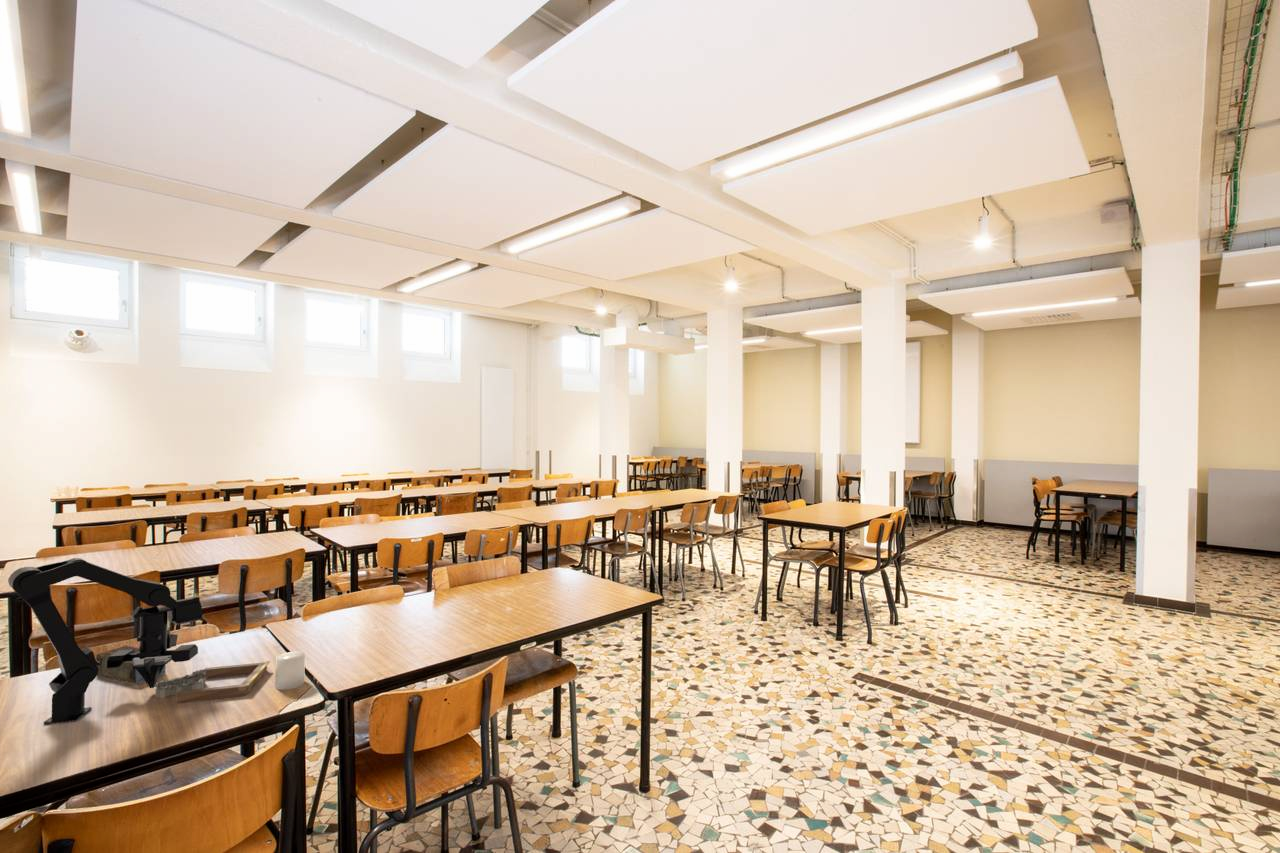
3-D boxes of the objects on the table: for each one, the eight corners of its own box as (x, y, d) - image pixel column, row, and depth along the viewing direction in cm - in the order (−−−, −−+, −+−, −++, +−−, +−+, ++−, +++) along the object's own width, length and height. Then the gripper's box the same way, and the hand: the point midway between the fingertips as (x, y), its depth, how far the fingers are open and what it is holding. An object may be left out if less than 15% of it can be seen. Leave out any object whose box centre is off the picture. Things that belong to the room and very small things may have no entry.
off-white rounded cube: (300, 688, 159) (300, 659, 159) (271, 691, 157) (272, 662, 157) (307, 678, 165) (307, 650, 165) (279, 680, 163) (280, 652, 163)
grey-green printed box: (134, 685, 160) (134, 662, 160) (94, 675, 167) (94, 652, 167) (166, 674, 168) (167, 652, 168) (126, 665, 175) (127, 643, 175)
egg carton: (208, 682, 163) (208, 668, 163) (201, 693, 156) (202, 678, 156) (160, 689, 158) (160, 674, 158) (151, 700, 151) (152, 685, 151)
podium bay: (248, 695, 154) (248, 684, 154) (176, 703, 150) (176, 692, 150) (269, 670, 171) (269, 660, 171) (205, 676, 166) (205, 666, 166)
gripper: (207, 617, 166) (206, 671, 166) (129, 623, 161) (128, 679, 160) (188, 630, 155) (187, 688, 155) (104, 636, 150) (103, 696, 150)
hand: (152, 687), depth 155 cm, fingers closed
